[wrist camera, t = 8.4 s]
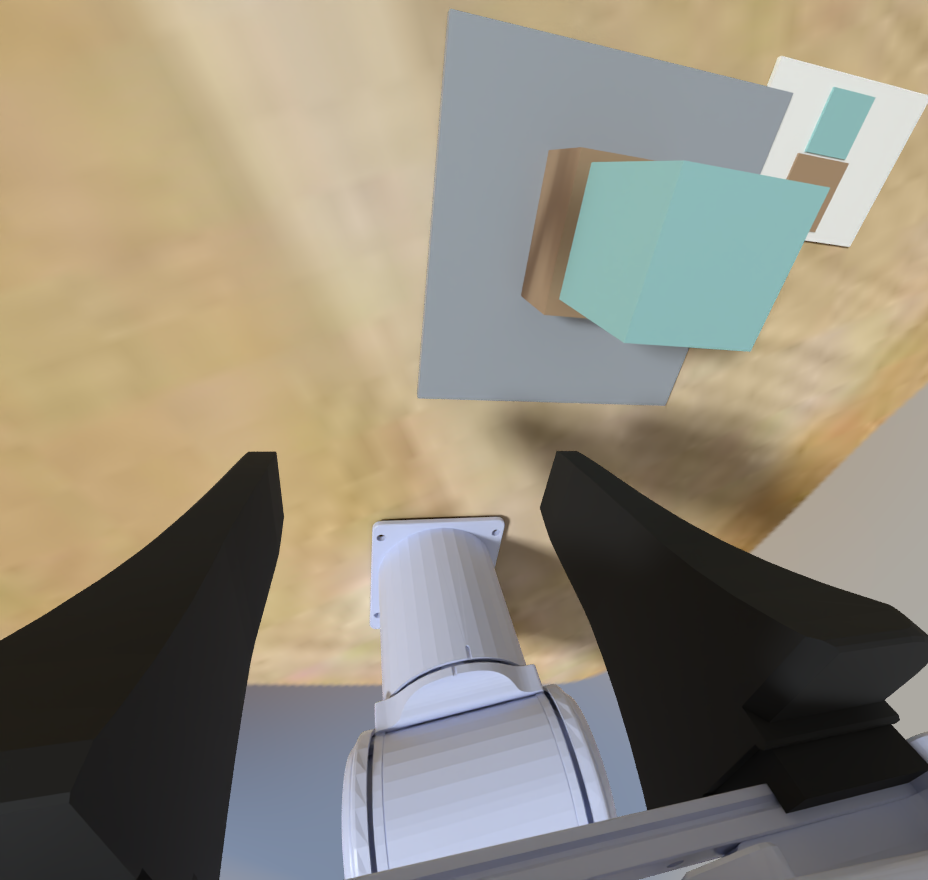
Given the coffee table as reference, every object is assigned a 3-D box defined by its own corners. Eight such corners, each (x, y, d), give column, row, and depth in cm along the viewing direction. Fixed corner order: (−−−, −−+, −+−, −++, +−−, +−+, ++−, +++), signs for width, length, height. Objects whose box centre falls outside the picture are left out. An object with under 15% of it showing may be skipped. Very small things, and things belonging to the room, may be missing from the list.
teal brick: (659, 308, 18) (750, 351, 14) (559, 299, 17) (624, 343, 13) (705, 181, 15) (830, 187, 11) (591, 162, 14) (683, 160, 10)
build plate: (661, 402, 25) (665, 405, 24) (417, 394, 21) (417, 398, 21) (785, 94, 18) (793, 92, 17) (447, 12, 14) (450, 8, 14)
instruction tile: (845, 246, 22) (851, 247, 21) (712, 226, 20) (717, 227, 20) (926, 96, 19) (933, 95, 18) (778, 57, 17) (784, 55, 17)
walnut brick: (628, 305, 21) (665, 324, 18) (520, 295, 19) (544, 315, 17) (671, 172, 18) (721, 172, 15) (548, 150, 17) (581, 147, 14)
